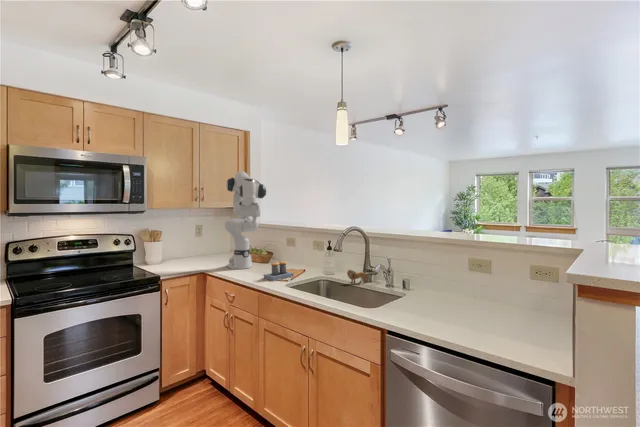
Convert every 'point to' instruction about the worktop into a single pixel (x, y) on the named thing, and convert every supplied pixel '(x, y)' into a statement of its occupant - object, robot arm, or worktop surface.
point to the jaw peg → (275, 269)
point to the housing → (278, 276)
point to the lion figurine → (356, 276)
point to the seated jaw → (282, 267)
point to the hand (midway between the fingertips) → (249, 223)
